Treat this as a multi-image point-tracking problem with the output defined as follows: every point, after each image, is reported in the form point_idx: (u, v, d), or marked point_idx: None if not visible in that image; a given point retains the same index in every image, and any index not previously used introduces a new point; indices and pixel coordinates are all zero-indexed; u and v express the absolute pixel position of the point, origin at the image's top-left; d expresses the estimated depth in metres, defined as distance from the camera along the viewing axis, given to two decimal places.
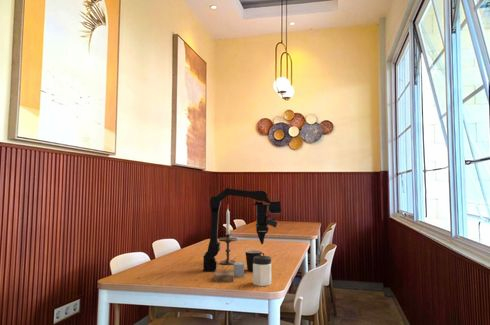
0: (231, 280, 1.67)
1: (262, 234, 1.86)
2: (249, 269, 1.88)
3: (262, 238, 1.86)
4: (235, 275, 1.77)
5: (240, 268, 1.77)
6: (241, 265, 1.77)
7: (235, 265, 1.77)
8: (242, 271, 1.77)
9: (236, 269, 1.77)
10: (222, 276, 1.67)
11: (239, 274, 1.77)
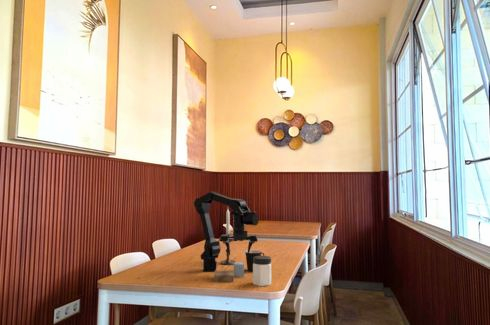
0: (231, 280, 1.67)
1: None
2: (249, 269, 1.88)
3: None
4: (235, 275, 1.77)
5: (240, 268, 1.77)
6: (241, 265, 1.77)
7: (235, 265, 1.77)
8: (242, 271, 1.77)
9: (236, 269, 1.77)
10: (222, 276, 1.67)
11: (239, 274, 1.77)
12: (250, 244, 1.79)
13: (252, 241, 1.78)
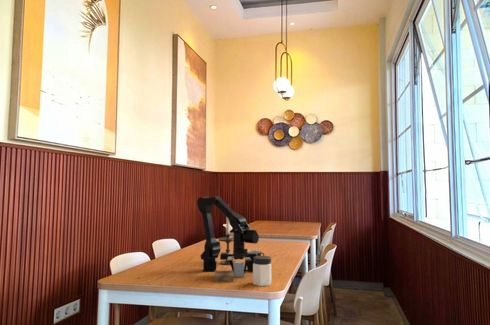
0: (231, 280, 1.67)
1: None
2: (249, 269, 1.88)
3: None
4: (235, 275, 1.77)
5: (240, 268, 1.77)
6: (241, 265, 1.77)
7: (235, 265, 1.77)
8: (242, 271, 1.77)
9: (236, 269, 1.77)
10: (222, 276, 1.67)
11: (239, 274, 1.77)
12: (246, 262, 1.78)
13: (252, 259, 1.77)
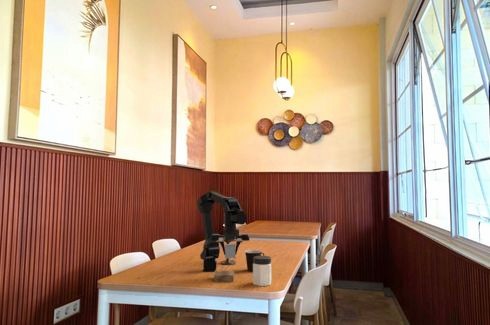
0: (231, 280, 1.67)
1: None
2: (249, 269, 1.88)
3: (222, 248, 1.75)
4: (226, 256, 1.73)
5: (231, 249, 1.73)
6: (232, 246, 1.73)
7: (226, 246, 1.73)
8: (233, 252, 1.73)
9: (227, 250, 1.73)
10: (222, 276, 1.67)
11: (230, 255, 1.73)
12: (238, 243, 1.74)
13: (244, 240, 1.73)
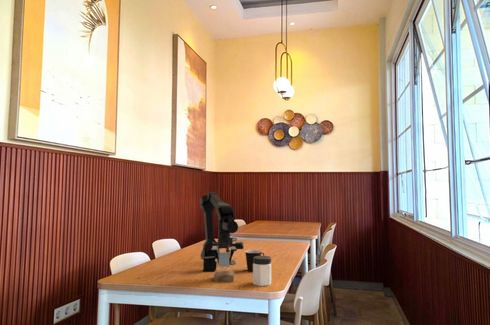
0: (231, 280, 1.67)
1: None
2: (249, 269, 1.88)
3: (216, 257, 1.72)
4: (220, 265, 1.70)
5: (225, 258, 1.70)
6: (226, 255, 1.70)
7: (220, 255, 1.70)
8: (227, 261, 1.70)
9: (221, 259, 1.70)
10: (222, 276, 1.67)
11: (224, 264, 1.70)
12: (232, 252, 1.70)
13: (238, 248, 1.70)
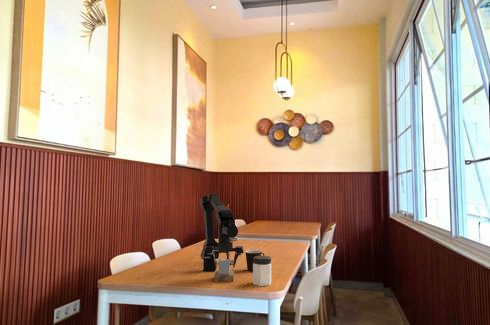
0: (231, 280, 1.67)
1: None
2: (249, 269, 1.88)
3: None
4: (220, 272, 1.69)
5: (225, 265, 1.69)
6: (226, 262, 1.70)
7: (220, 262, 1.70)
8: (227, 268, 1.69)
9: (221, 266, 1.69)
10: (222, 276, 1.67)
11: (224, 271, 1.69)
12: (236, 256, 1.70)
13: (238, 253, 1.69)
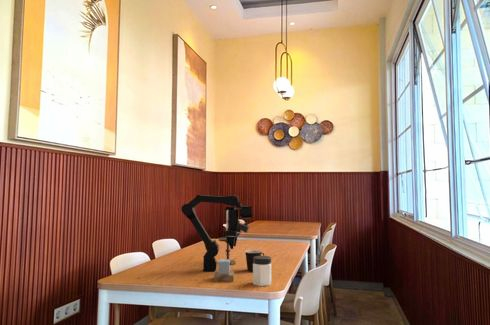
0: (231, 280, 1.67)
1: (231, 239, 1.86)
2: (249, 269, 1.88)
3: (231, 243, 1.86)
4: (220, 272, 1.69)
5: (225, 265, 1.69)
6: (226, 262, 1.70)
7: (220, 262, 1.70)
8: (227, 268, 1.69)
9: (221, 266, 1.69)
10: (222, 276, 1.67)
11: (224, 271, 1.69)
12: (238, 235, 1.97)
13: (240, 232, 1.98)
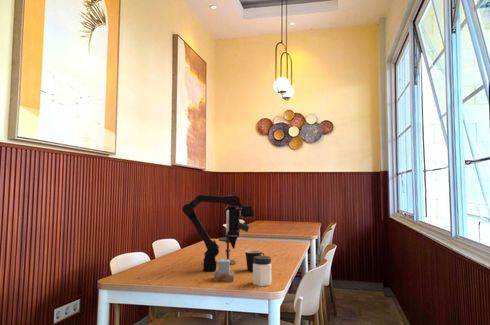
0: (231, 280, 1.67)
1: (233, 238, 1.88)
2: (249, 269, 1.88)
3: (233, 242, 1.88)
4: (220, 272, 1.69)
5: (225, 265, 1.69)
6: (226, 262, 1.70)
7: (220, 262, 1.70)
8: (227, 268, 1.69)
9: (221, 266, 1.69)
10: (222, 276, 1.67)
11: (224, 271, 1.69)
12: None
13: (239, 231, 2.01)
